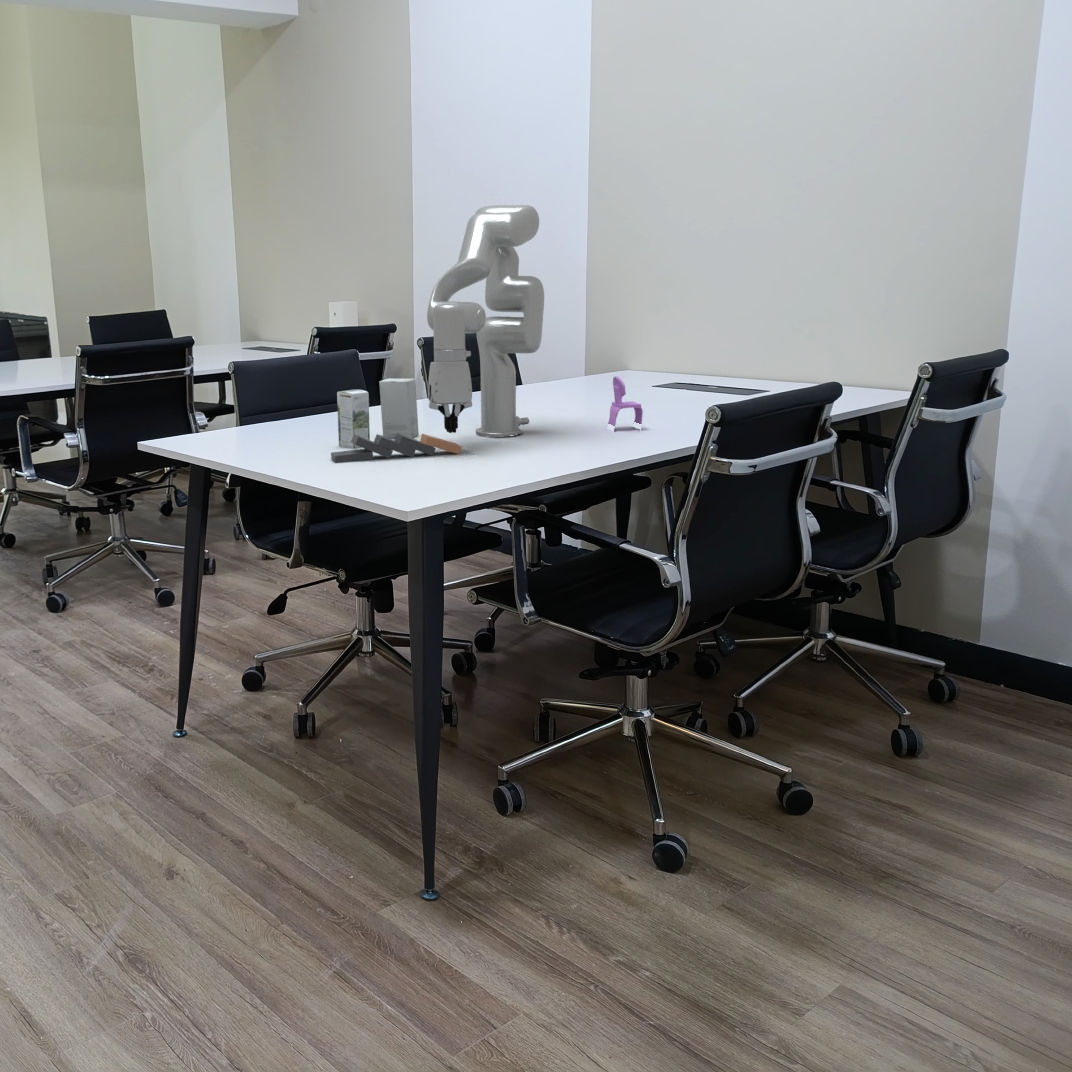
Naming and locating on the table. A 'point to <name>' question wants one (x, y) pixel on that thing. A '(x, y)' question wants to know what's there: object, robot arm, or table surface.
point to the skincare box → (399, 407)
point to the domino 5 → (440, 443)
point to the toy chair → (622, 403)
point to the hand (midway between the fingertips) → (451, 431)
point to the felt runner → (420, 455)
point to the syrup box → (352, 416)
